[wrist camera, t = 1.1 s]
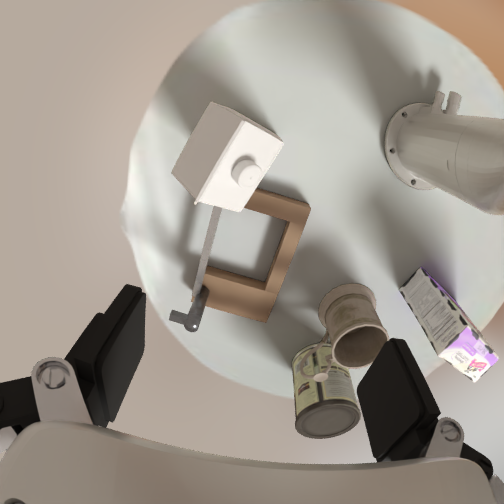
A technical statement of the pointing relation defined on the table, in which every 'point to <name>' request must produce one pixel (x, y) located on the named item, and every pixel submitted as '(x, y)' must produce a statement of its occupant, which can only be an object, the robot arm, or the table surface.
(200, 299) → the hook post
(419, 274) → the candy box
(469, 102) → the table surface
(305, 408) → the coffee can
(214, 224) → the rail
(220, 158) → the milk carton
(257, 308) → the wooden frame
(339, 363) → the mug
